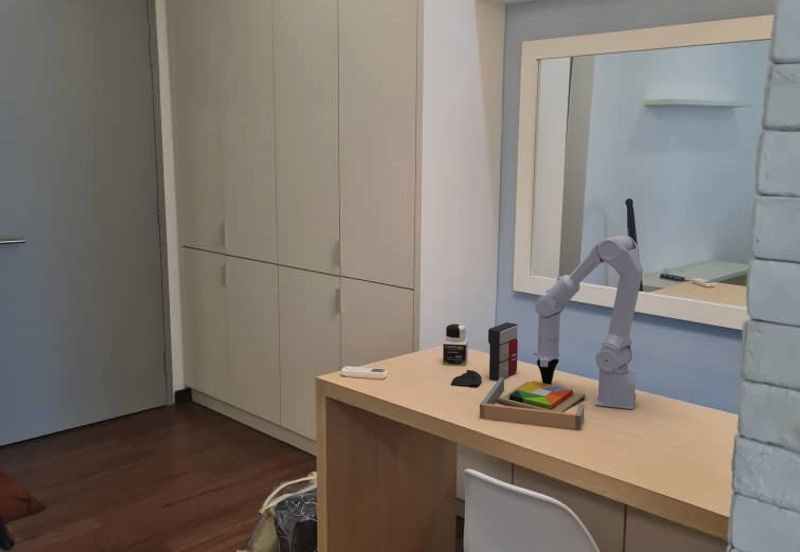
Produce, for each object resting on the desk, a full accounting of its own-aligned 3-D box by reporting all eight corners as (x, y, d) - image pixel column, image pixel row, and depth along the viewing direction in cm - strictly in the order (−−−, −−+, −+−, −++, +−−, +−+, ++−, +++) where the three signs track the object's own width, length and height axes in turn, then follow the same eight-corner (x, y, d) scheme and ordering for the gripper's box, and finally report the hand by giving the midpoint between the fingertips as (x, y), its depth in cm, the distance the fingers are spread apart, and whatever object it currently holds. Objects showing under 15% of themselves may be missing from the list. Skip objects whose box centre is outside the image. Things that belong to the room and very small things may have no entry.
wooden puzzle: (494, 404, 196) (494, 391, 196) (529, 387, 211) (530, 375, 210) (553, 419, 185) (554, 406, 185) (587, 400, 200) (587, 387, 199)
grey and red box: (500, 381, 214) (501, 331, 212) (487, 379, 217) (488, 328, 214) (518, 372, 223) (519, 324, 220) (505, 370, 225) (506, 322, 223)
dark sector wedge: (488, 376, 221) (488, 371, 221) (477, 390, 208) (478, 384, 208) (461, 373, 224) (461, 368, 223) (449, 387, 211) (449, 381, 211)
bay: (589, 399, 199) (590, 386, 198) (579, 430, 177) (580, 416, 176) (499, 389, 207) (499, 377, 206) (479, 418, 185) (479, 404, 184)
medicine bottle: (442, 365, 231) (443, 327, 229) (445, 358, 238) (445, 322, 236) (465, 366, 230) (466, 328, 228) (467, 359, 237) (468, 323, 235)
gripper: (538, 330, 214) (537, 376, 216) (529, 342, 200) (528, 391, 202) (563, 332, 211) (561, 378, 213) (556, 344, 198) (554, 394, 200)
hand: (547, 385), depth 208 cm, fingers closed
